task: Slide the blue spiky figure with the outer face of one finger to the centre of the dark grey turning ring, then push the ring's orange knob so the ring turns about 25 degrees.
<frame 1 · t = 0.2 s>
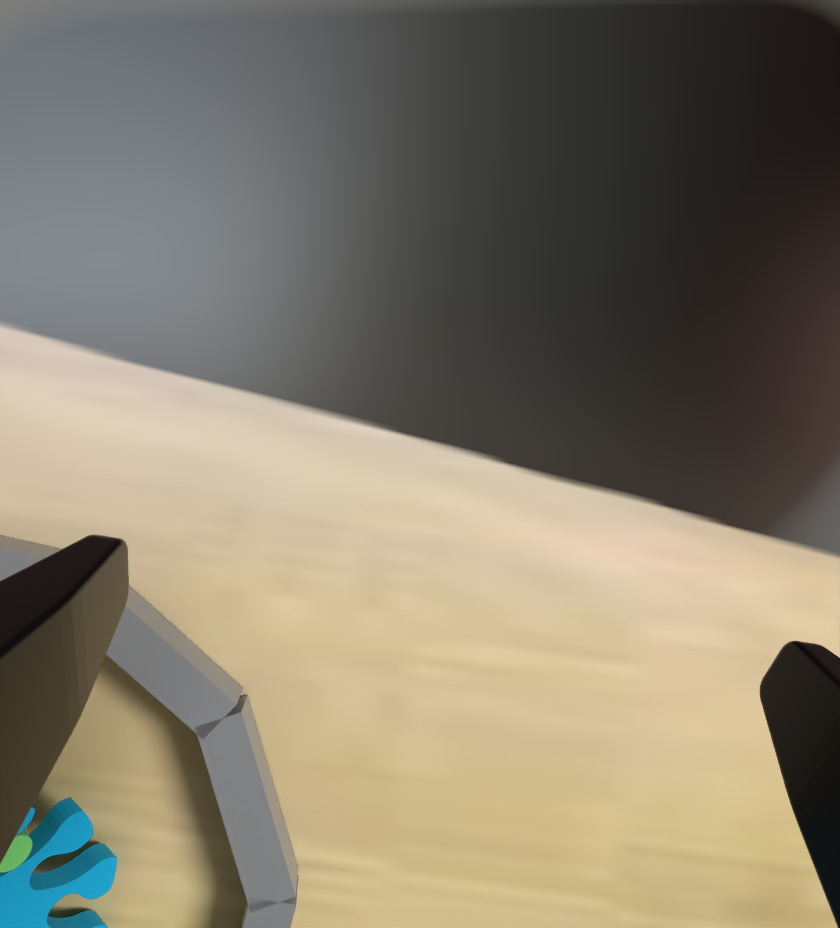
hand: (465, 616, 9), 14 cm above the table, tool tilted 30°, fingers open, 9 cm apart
blue spiky figure: (7, 865, 22), on the table
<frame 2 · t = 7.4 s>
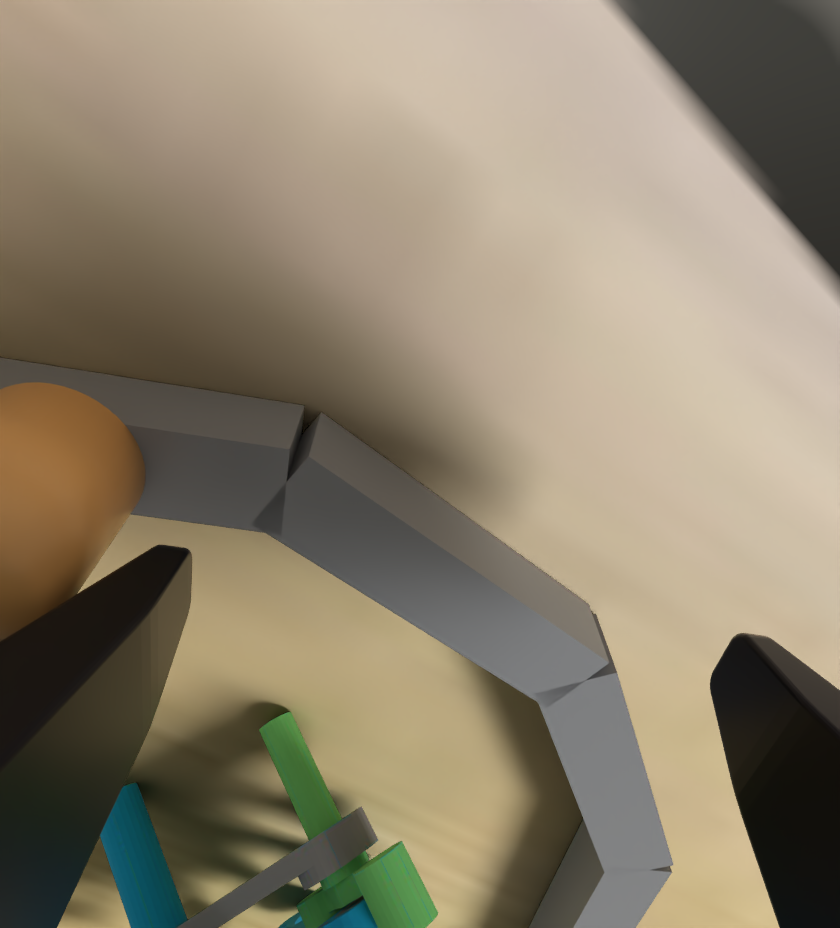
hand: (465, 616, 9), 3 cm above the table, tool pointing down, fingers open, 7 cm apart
blue spiky figure: (253, 823, 16), on the table
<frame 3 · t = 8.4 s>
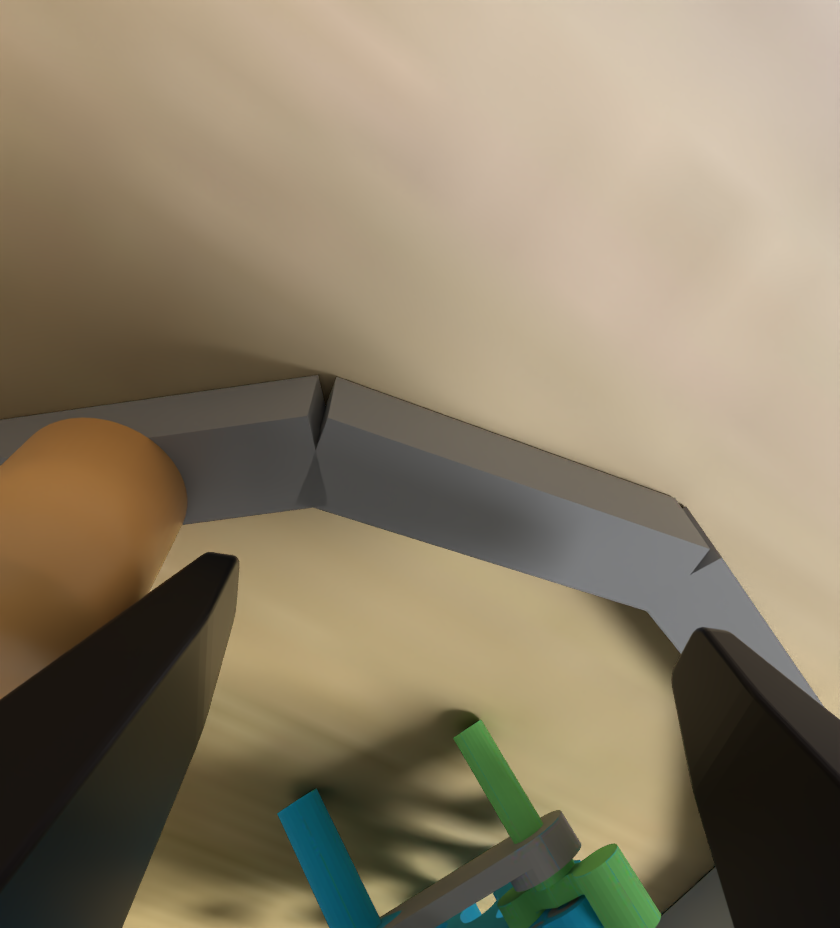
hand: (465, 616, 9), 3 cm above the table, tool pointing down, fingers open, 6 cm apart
blue spiky figure: (415, 825, 17), on the table
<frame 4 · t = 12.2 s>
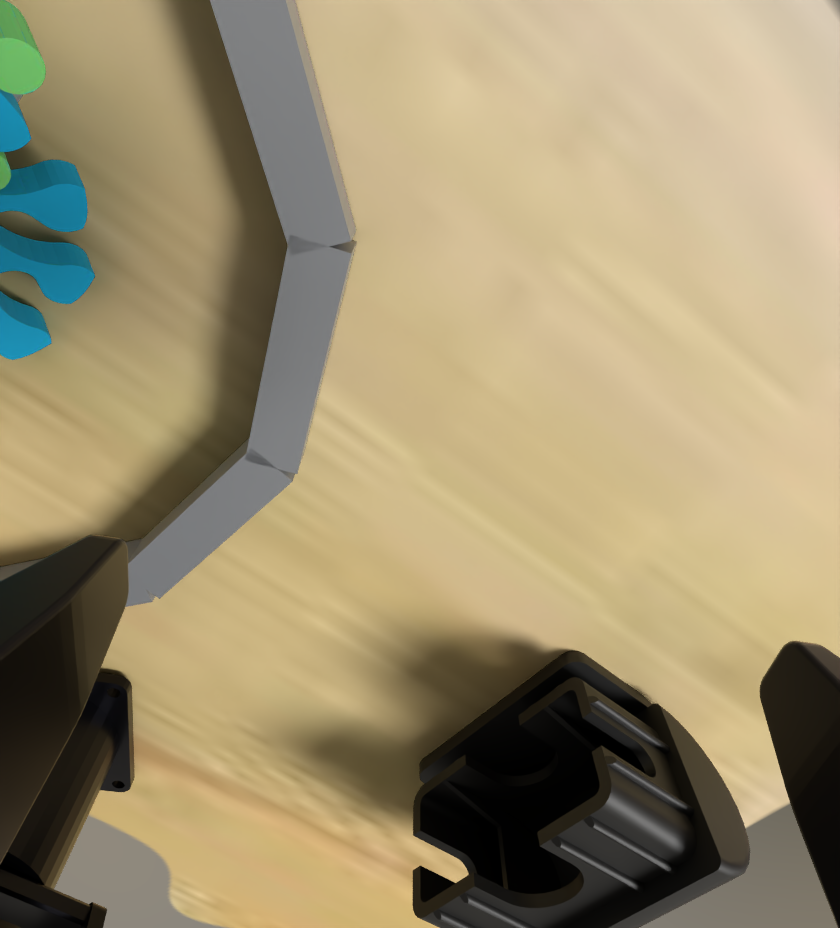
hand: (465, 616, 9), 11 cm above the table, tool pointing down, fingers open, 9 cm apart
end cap: (549, 742, 27), on the table
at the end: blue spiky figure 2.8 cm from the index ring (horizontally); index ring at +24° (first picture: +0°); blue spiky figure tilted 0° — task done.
